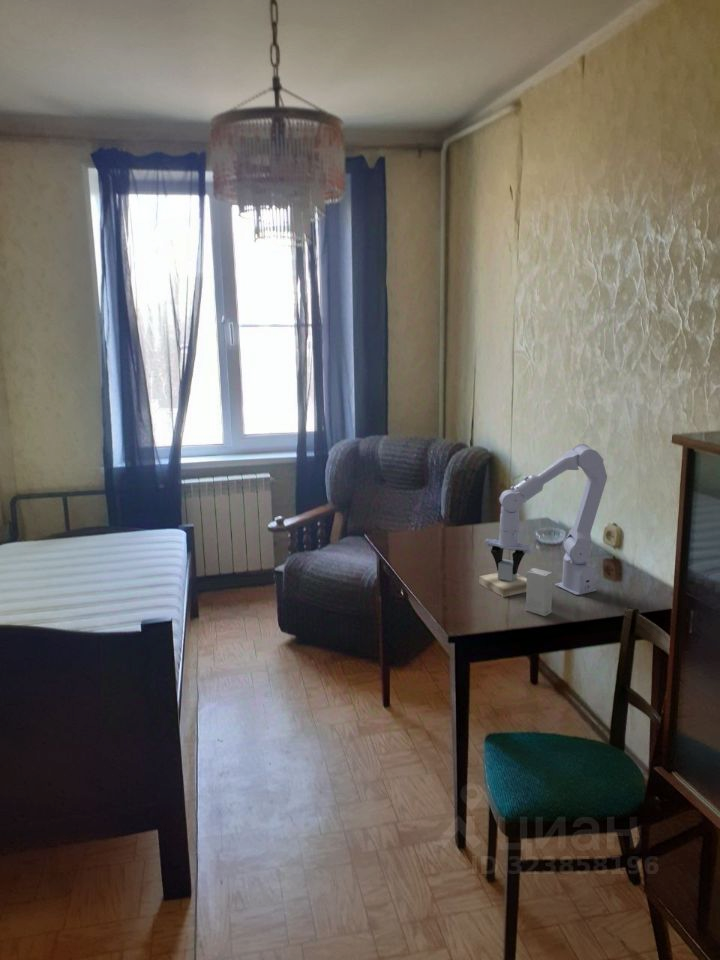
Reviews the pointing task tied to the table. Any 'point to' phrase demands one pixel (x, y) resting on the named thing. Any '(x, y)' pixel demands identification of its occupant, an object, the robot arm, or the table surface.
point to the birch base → (504, 584)
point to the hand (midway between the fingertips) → (507, 571)
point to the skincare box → (539, 591)
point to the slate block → (506, 570)
